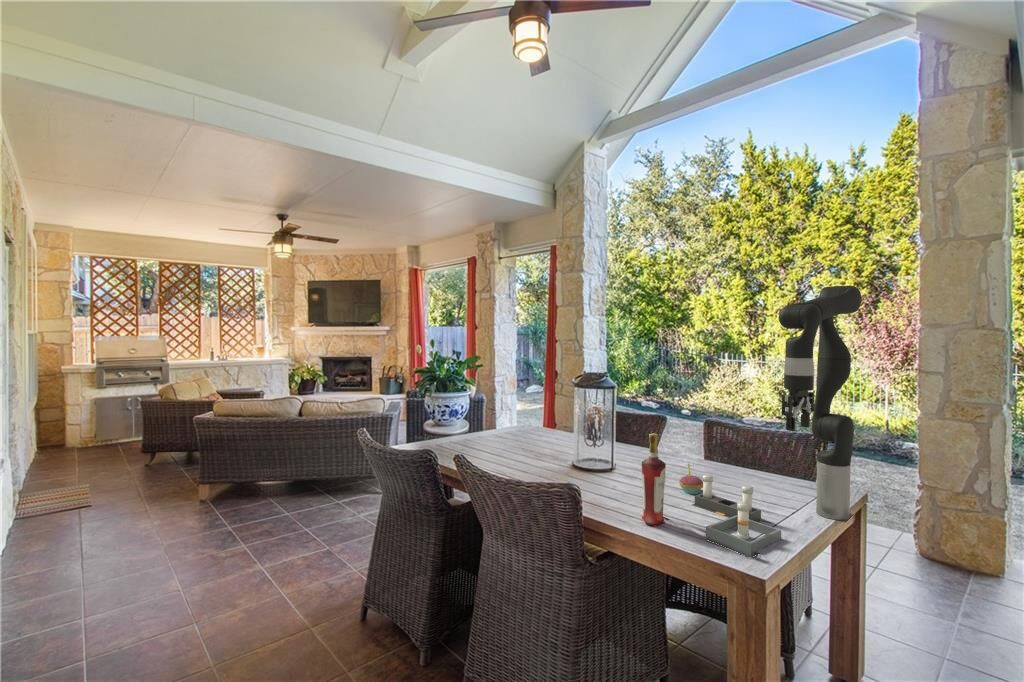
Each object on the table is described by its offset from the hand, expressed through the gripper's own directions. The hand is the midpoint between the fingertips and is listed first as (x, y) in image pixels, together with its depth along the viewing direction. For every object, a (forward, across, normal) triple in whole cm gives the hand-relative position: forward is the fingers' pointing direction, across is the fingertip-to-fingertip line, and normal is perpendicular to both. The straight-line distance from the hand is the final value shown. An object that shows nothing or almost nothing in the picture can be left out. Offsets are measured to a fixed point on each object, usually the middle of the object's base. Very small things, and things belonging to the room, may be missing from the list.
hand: (798, 428), depth 144 cm
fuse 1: (+31, -2, +28) cm, 42 cm away
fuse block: (+32, -2, +21) cm, 38 cm away
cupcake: (+32, +6, +40) cm, 52 cm away
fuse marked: (+31, -16, +7) cm, 36 cm away
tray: (+32, -16, +7) cm, 37 cm away
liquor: (+32, -26, +31) cm, 52 cm away
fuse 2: (+31, -2, +14) cm, 34 cm away
